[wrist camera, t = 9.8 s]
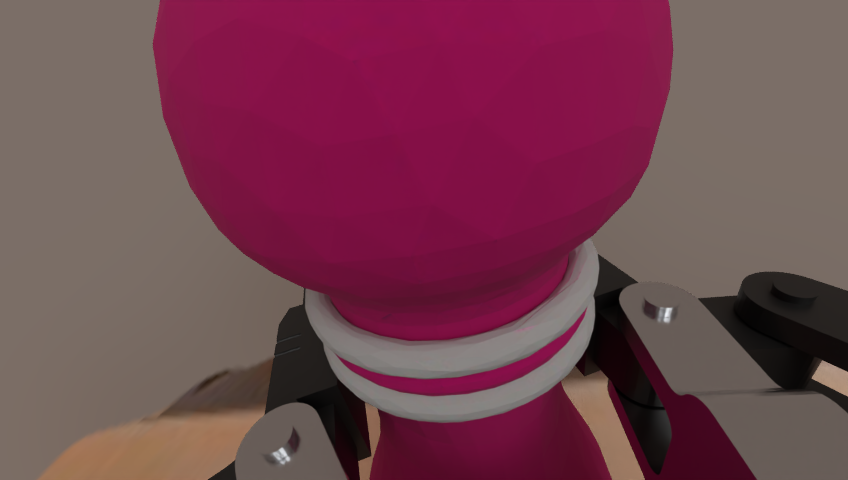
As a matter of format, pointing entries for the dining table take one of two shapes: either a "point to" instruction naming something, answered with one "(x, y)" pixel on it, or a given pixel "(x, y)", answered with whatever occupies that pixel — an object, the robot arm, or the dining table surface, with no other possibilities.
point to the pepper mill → (428, 197)
